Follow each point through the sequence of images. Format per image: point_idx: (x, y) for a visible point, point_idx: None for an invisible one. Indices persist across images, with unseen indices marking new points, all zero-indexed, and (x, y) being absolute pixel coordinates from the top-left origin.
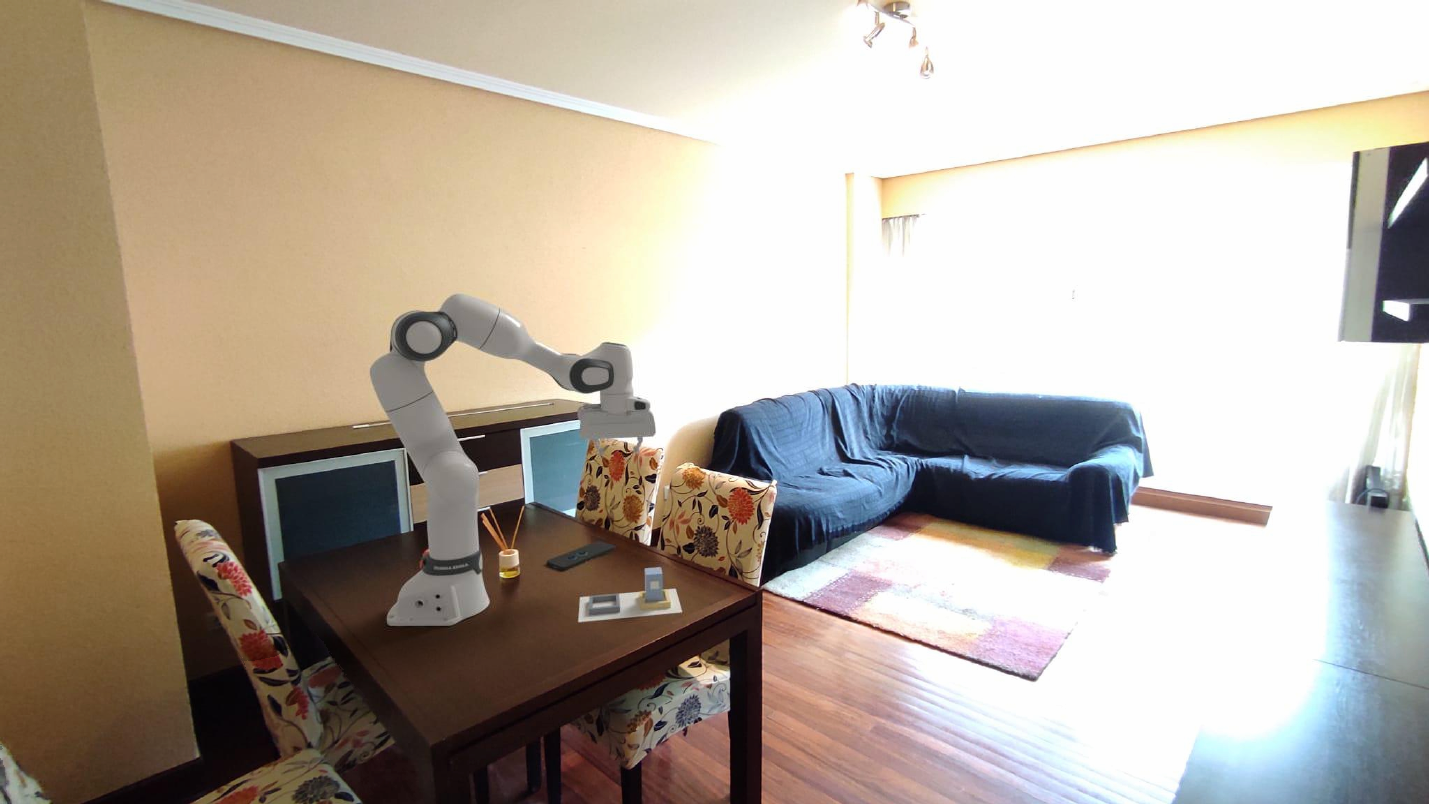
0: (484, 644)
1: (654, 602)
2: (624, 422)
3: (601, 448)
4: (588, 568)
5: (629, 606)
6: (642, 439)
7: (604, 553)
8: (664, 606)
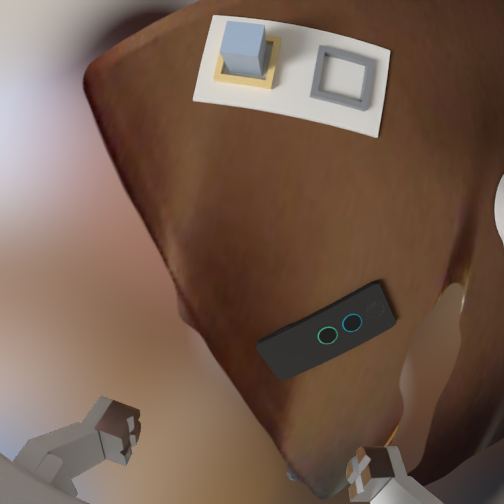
0: (498, 76)
1: None
2: None
3: (375, 488)
4: (330, 274)
5: (297, 61)
6: (23, 449)
7: (283, 328)
8: None
